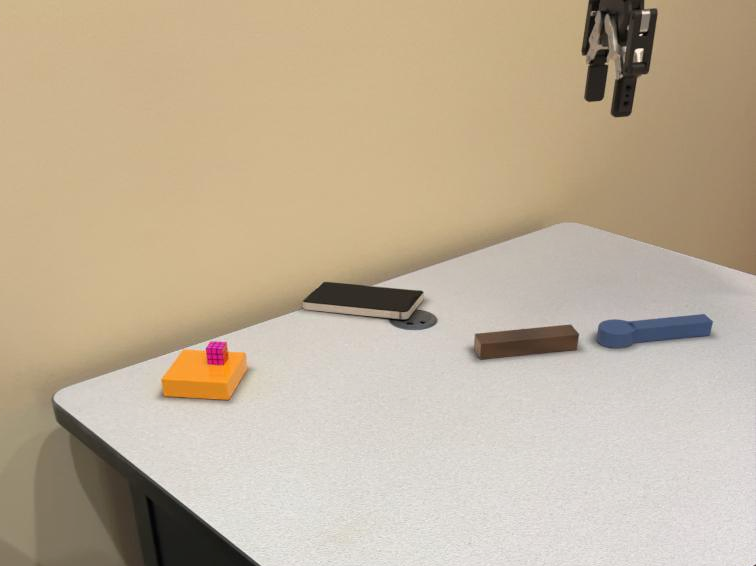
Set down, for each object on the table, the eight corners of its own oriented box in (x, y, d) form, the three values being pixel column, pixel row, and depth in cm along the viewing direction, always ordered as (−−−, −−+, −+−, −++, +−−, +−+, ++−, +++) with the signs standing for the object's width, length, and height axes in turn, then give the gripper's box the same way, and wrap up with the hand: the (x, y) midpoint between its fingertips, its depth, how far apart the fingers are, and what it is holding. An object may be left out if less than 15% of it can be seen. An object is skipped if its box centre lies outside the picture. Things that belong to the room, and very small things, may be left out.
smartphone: (323, 280, 127) (425, 290, 122) (323, 289, 127) (424, 298, 122) (301, 302, 121) (406, 312, 116) (301, 310, 122) (406, 321, 117)
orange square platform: (228, 400, 103) (224, 366, 100) (163, 396, 104) (157, 362, 102) (247, 369, 109) (244, 336, 106) (185, 366, 110) (180, 333, 107)
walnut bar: (568, 339, 110) (571, 324, 109) (577, 349, 108) (579, 334, 107) (473, 349, 110) (474, 333, 108) (479, 359, 107) (481, 343, 106)
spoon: (697, 324, 112) (700, 310, 110) (713, 338, 108) (717, 324, 107) (590, 334, 111) (593, 321, 110) (603, 349, 107) (606, 335, 106)
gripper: (696, -63, 88) (662, 119, 99) (639, -71, 99) (614, 93, 110) (622, -57, 88) (596, 125, 98) (573, -67, 99) (555, 98, 109)
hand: (606, 108), depth 104 cm, fingers open, 8 cm apart
